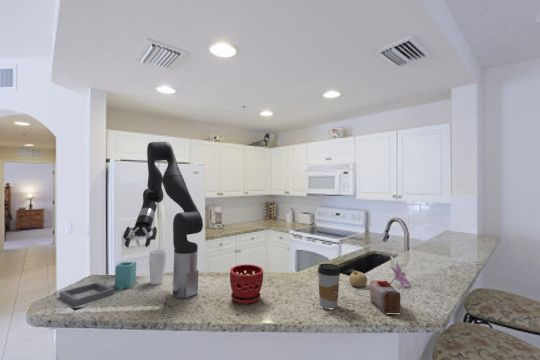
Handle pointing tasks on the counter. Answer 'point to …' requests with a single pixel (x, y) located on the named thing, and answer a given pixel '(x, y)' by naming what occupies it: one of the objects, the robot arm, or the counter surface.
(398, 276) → the lily
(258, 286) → the plant pot
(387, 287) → the food item
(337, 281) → the coffee cup
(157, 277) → the drinking glass
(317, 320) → the counter surface
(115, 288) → the square wooden base
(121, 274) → the teal sleeve
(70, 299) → the charcoal tray
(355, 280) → the onion
